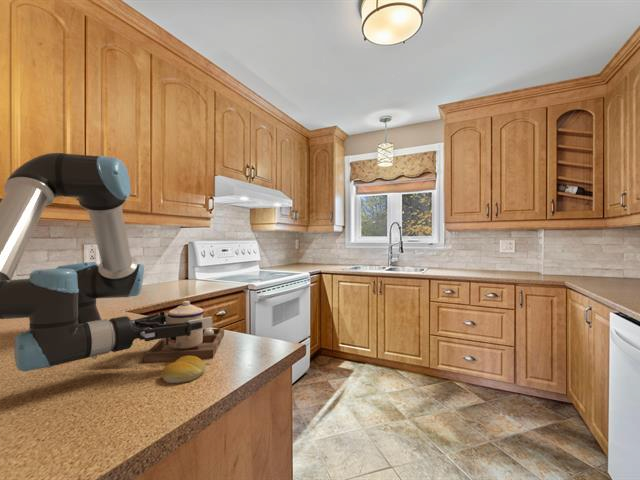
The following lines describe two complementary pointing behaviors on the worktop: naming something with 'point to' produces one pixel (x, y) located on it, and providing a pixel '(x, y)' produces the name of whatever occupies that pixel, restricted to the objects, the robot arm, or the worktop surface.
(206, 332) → the pebble
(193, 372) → the bread roll
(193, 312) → the teacup with lid
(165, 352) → the parts tray
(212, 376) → the worktop surface
